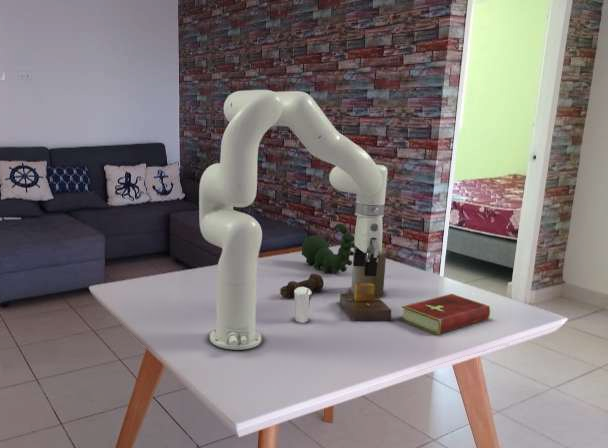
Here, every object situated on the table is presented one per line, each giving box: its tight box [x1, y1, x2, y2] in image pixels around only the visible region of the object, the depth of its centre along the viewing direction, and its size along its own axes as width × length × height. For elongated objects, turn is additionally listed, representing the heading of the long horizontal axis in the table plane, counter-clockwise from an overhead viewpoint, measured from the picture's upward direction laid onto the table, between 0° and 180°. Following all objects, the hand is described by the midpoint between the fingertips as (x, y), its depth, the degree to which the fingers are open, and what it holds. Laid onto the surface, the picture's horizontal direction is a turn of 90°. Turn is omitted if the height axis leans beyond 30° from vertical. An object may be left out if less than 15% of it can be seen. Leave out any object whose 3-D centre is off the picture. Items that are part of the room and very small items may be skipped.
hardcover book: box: [400, 293, 491, 336], centre depth 152 cm, size 12×21×4 cm, turn 121°
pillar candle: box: [350, 248, 387, 298], centre depth 172 cm, size 10×10×15 cm
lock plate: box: [339, 292, 392, 322], centre depth 158 cm, size 14×10×3 cm
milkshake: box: [294, 287, 313, 324], centre depth 149 cm, size 4×5×10 cm
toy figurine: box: [301, 223, 355, 274], centre depth 197 cm, size 9×19×25 cm
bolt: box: [279, 273, 325, 298], centre depth 171 cm, size 6×5×15 cm
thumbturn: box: [354, 283, 375, 301], centre depth 158 cm, size 5×2×5 cm, turn 92°
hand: (364, 270), depth 156 cm, fingers open, 9 cm apart
